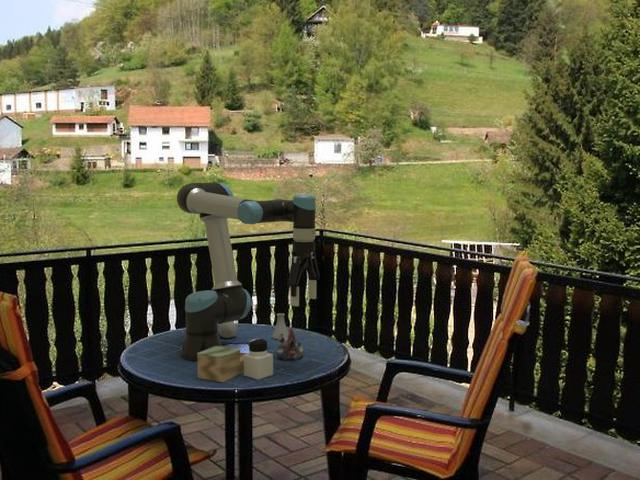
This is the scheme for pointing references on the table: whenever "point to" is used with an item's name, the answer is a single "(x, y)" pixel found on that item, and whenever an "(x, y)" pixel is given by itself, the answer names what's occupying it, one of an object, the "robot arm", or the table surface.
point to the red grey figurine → (289, 347)
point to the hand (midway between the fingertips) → (303, 302)
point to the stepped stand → (220, 363)
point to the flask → (280, 327)
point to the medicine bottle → (258, 360)
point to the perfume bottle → (228, 329)
